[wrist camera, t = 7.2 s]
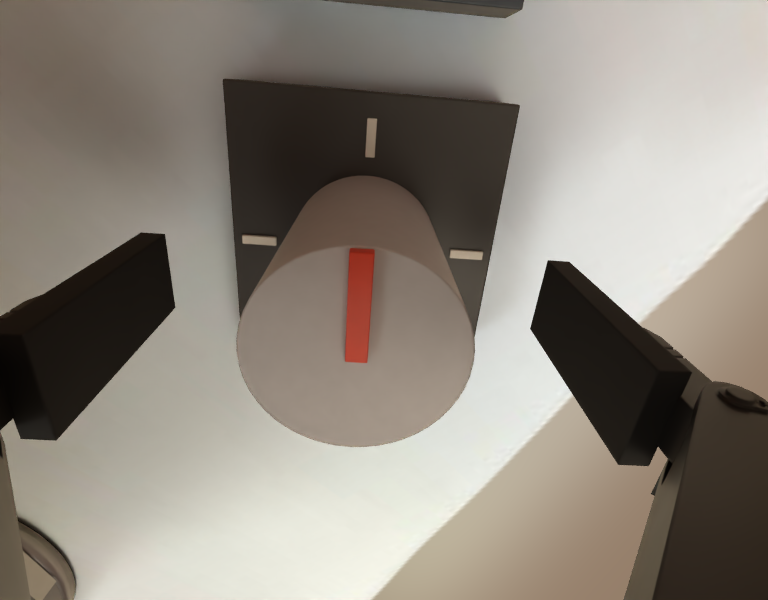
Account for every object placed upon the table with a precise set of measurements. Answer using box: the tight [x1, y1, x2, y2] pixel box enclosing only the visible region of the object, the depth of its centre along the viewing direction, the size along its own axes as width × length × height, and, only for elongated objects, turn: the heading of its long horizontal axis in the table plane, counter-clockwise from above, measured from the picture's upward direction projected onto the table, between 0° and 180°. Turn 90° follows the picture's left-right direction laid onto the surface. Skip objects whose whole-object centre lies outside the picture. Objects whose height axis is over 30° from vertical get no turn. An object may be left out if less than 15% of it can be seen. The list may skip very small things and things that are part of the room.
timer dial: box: [237, 176, 475, 447], centre depth 15 cm, size 6×6×9 cm
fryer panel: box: [223, 79, 520, 336], centre depth 20 cm, size 12×11×3 cm
